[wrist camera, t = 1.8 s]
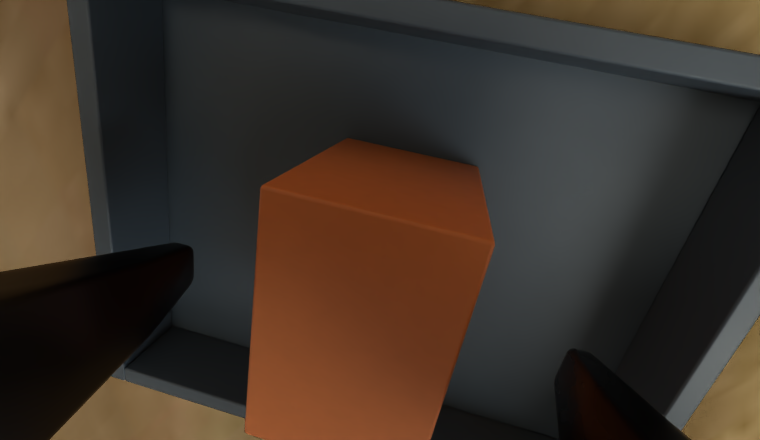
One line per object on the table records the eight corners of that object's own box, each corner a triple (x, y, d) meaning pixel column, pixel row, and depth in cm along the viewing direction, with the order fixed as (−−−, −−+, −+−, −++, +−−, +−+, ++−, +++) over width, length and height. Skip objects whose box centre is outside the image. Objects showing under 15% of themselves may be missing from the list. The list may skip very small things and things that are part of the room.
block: (479, 166, 11) (497, 243, 6) (431, 332, 13) (414, 489, 8) (346, 136, 11) (258, 184, 6) (322, 302, 14) (242, 434, 9)
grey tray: (788, 80, 9) (922, 82, 7) (582, 449, 14) (611, 535, 12) (152, -35, 11) (57, -70, 9) (166, 327, 16) (109, 376, 14)
